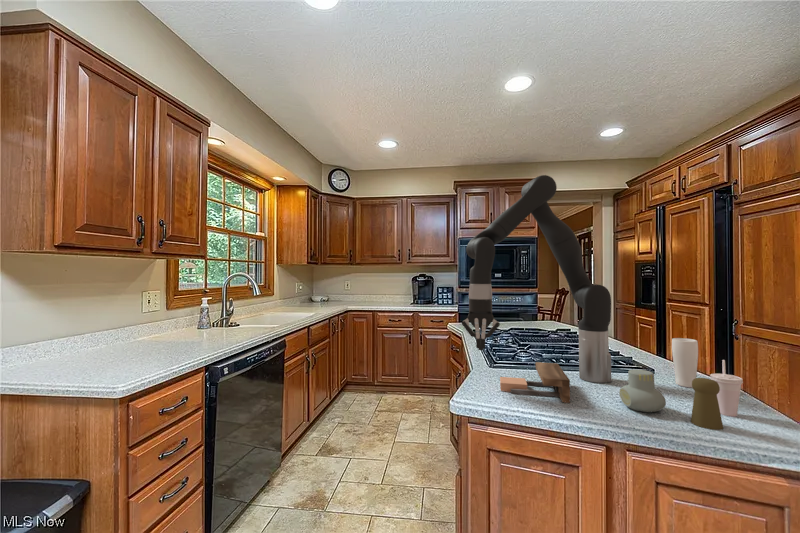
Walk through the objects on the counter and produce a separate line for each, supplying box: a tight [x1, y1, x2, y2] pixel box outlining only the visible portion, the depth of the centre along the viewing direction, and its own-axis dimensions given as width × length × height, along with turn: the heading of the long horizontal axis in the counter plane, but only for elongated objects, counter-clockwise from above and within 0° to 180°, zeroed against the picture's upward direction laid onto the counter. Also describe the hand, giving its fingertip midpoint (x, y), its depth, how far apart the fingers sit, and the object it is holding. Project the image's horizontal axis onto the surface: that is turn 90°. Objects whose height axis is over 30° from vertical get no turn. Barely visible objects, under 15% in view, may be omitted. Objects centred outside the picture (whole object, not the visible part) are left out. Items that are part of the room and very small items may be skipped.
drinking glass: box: [671, 337, 699, 389], centre depth 117 cm, size 7×7×15 cm
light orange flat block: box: [499, 376, 528, 393], centre depth 115 cm, size 8×7×2 cm
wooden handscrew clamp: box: [510, 361, 571, 404], centre depth 113 cm, size 16×20×6 cm
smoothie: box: [709, 359, 744, 418], centre depth 93 cm, size 6×6×14 cm
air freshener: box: [618, 368, 667, 413], centre depth 97 cm, size 11×8×10 cm
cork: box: [690, 377, 724, 431], centre depth 87 cm, size 6×6×11 cm
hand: (480, 349), depth 118 cm, fingers closed
